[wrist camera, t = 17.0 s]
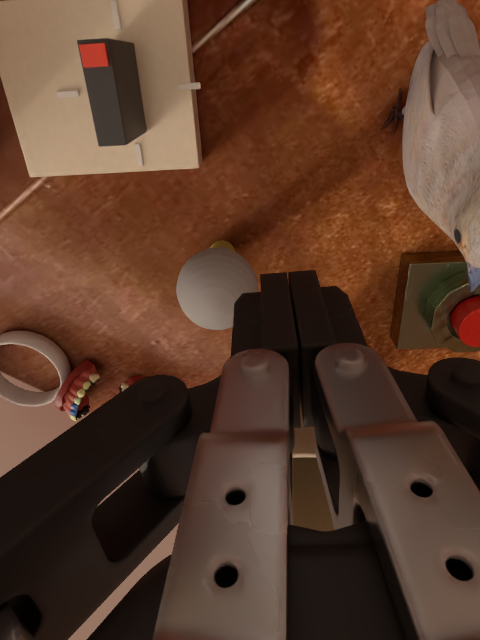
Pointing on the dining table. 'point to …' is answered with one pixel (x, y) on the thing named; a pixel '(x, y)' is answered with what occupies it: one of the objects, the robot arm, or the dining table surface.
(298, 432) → the plant pot
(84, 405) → the dentures
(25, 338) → the ring
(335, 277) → the dining table surface
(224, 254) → the light bulb
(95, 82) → the knob
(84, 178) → the dining table surface
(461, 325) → the button
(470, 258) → the bird
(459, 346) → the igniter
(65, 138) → the panel
